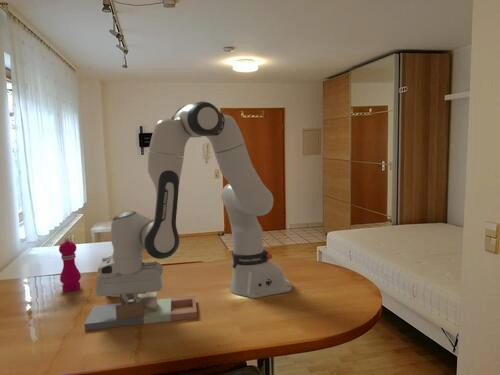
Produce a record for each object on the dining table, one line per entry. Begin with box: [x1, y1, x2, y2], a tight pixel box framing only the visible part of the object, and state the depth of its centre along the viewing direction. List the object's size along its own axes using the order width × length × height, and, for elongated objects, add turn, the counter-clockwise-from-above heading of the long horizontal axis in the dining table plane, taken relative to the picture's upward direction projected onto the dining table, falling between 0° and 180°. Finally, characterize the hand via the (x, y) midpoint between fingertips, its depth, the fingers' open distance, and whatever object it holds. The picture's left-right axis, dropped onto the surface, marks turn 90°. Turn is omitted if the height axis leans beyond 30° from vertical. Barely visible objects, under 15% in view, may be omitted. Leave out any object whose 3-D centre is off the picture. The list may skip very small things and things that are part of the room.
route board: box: [84, 292, 198, 331], centre depth 127 cm, size 33×13×6 cm, turn 100°
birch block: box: [136, 291, 158, 313], centre depth 127 cm, size 6×6×4 cm
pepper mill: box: [58, 237, 82, 293], centre depth 151 cm, size 7×7×20 cm
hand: (131, 306), depth 126 cm, fingers closed
